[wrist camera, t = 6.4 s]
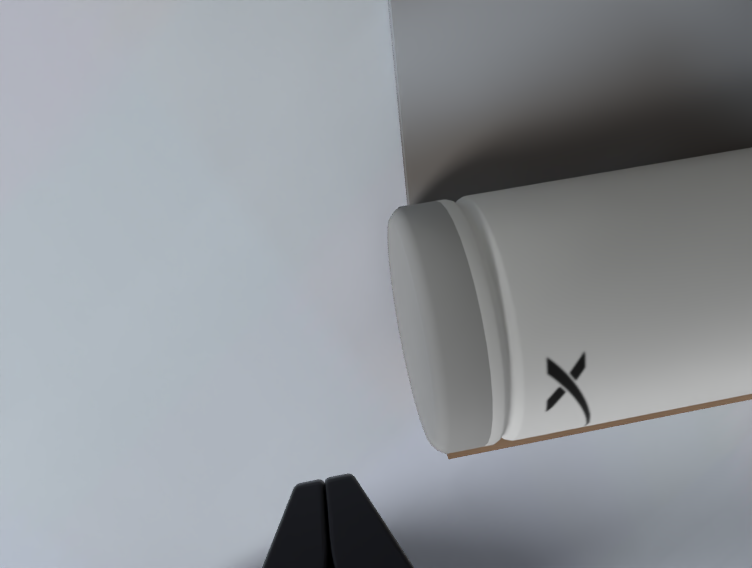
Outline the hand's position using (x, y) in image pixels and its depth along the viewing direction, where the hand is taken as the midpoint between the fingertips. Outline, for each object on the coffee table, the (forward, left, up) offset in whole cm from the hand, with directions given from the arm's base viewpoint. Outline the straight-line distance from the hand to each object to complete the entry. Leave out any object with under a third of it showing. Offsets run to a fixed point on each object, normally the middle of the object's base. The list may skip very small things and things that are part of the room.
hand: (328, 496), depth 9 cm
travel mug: (-2, -2, -6) cm, 7 cm away
